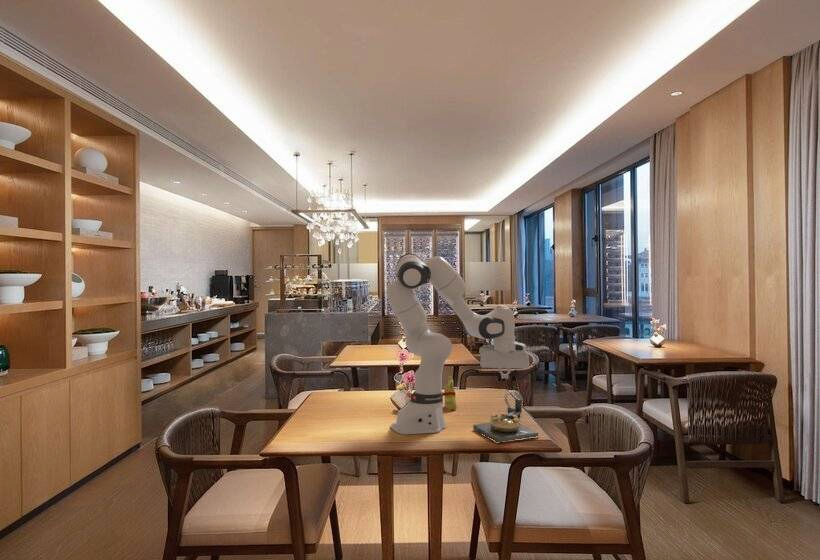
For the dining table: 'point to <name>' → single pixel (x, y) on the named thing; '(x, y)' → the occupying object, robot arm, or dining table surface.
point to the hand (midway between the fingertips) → (504, 378)
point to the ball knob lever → (507, 419)
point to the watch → (509, 409)
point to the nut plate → (504, 436)
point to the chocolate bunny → (450, 395)
